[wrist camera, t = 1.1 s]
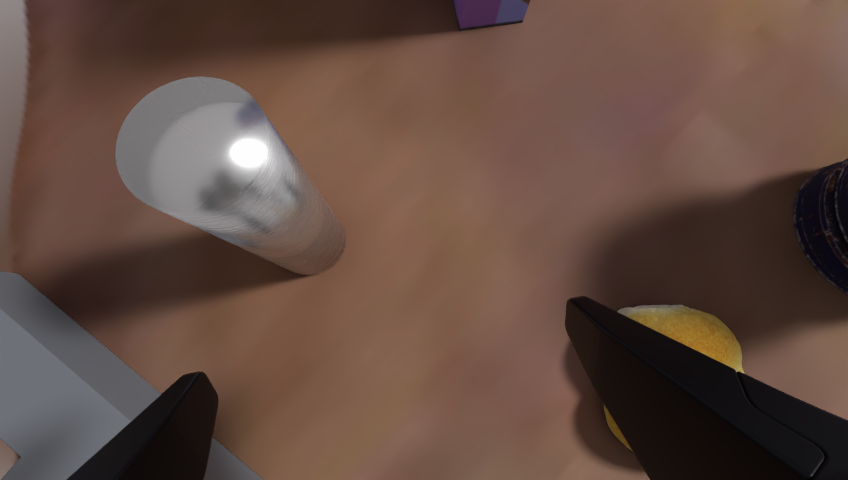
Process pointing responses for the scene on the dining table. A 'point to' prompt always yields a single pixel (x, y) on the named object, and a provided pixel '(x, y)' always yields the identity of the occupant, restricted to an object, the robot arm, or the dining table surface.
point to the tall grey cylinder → (227, 173)
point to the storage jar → (825, 222)
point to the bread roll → (686, 337)
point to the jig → (68, 391)
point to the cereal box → (489, 12)
